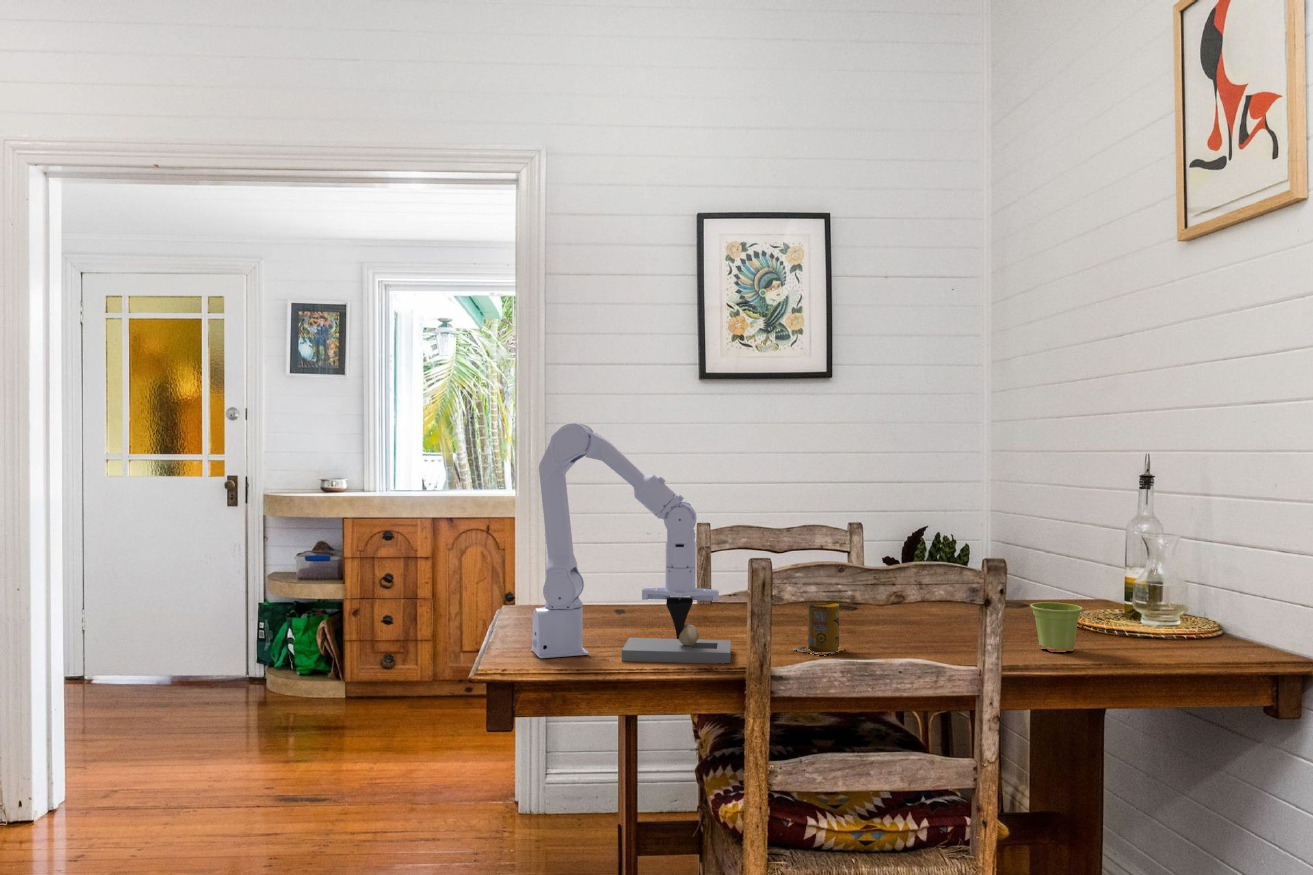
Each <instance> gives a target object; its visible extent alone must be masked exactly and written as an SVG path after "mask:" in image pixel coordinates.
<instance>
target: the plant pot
mask: <svg viewBox="0 0 1313 875" xmlns="http://www.w3.org/2000/svg"><path fill="white" fill-rule="evenodd" d="M1029 605H1030V608H1031V609H1032V612H1033V615H1034V619H1035V625H1036V626H1035V627H1036V632H1037V638H1038V645H1042V646H1044V647H1050V648H1054V649H1073V648H1074V649H1075V642H1076V636H1077V629H1078V628H1077V627H1078V621H1079V618H1080V615H1081V612H1082V611H1083V607H1082V606H1080V605H1077V604H1071V603H1063V602H1051V601H1050V602H1046V601H1045V602H1034V603H1030V604H1029Z"/></svg>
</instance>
